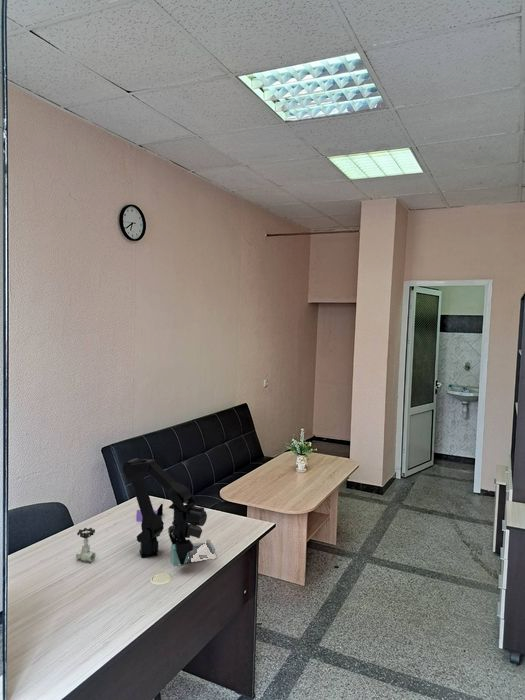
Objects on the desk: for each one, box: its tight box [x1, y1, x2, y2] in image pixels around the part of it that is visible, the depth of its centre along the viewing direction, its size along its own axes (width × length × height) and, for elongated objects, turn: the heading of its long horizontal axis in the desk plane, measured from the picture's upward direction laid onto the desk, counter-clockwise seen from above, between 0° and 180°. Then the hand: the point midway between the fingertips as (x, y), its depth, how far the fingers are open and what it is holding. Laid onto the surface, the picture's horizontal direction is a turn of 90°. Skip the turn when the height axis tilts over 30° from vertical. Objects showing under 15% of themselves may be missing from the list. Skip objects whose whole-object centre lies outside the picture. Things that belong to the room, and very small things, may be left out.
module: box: [170, 543, 189, 566], centre depth 187 cm, size 6×4×7 cm
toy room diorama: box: [135, 503, 164, 523], centre depth 227 cm, size 12×12×7 cm
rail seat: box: [188, 538, 216, 562], centre depth 195 cm, size 11×14×3 cm
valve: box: [75, 527, 97, 563], centre depth 186 cm, size 7×7×12 cm
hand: (179, 559), depth 187 cm, fingers open, 9 cm apart
